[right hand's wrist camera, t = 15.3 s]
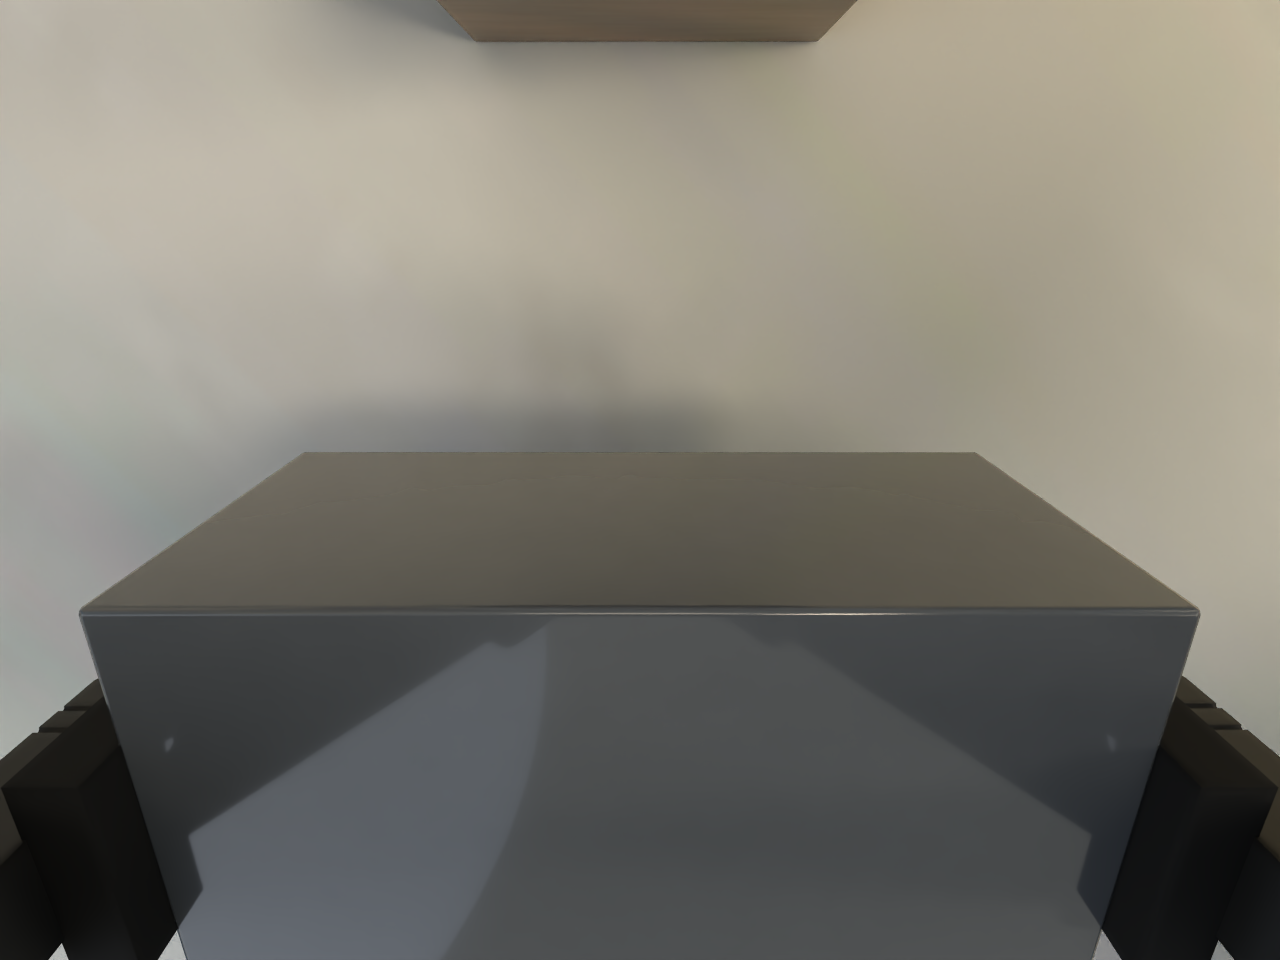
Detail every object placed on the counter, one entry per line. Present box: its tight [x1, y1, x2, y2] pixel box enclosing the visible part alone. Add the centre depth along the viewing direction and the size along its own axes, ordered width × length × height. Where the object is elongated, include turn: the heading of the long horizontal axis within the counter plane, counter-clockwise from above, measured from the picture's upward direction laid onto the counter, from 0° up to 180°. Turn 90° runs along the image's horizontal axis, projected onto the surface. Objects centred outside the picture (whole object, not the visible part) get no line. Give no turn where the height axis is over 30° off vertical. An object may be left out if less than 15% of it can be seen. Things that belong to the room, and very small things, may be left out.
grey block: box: [79, 452, 1200, 960], centre depth 10 cm, size 11×6×5 cm, turn 90°
